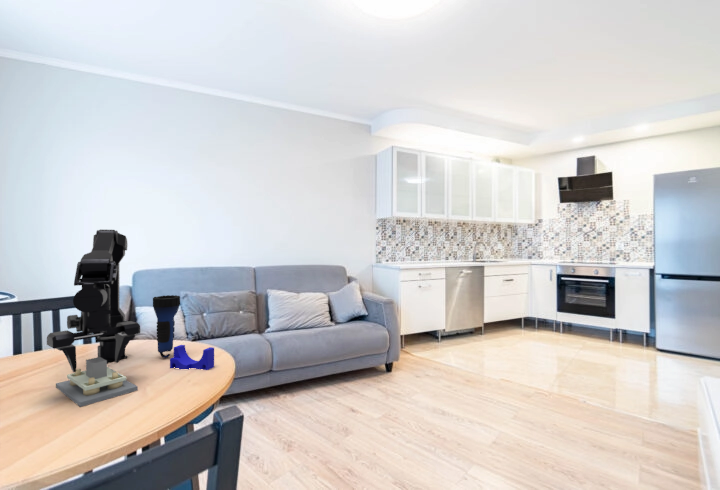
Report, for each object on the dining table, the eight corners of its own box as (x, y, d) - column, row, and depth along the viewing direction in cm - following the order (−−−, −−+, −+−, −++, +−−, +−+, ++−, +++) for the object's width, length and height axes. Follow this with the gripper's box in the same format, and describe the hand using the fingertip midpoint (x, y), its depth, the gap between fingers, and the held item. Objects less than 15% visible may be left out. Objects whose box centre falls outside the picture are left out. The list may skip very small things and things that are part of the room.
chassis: (109, 374, 104) (109, 358, 104) (137, 390, 92) (137, 372, 92) (55, 387, 94) (55, 369, 94) (80, 406, 83) (80, 387, 83)
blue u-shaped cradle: (169, 368, 109) (169, 348, 109) (180, 364, 113) (180, 344, 113) (204, 372, 106) (204, 351, 106) (214, 367, 110) (214, 347, 110)
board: (105, 368, 101) (105, 351, 101) (126, 380, 92) (126, 361, 92) (67, 377, 94) (67, 359, 94) (85, 390, 86) (85, 370, 86)
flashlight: (176, 360, 116) (176, 298, 116) (148, 362, 114) (149, 298, 114) (182, 353, 124) (182, 294, 124) (156, 355, 122) (157, 295, 122)
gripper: (124, 299, 105) (124, 352, 105) (40, 307, 91) (40, 370, 91) (141, 302, 99) (141, 360, 99) (53, 312, 84) (53, 380, 84)
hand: (96, 367), depth 93 cm, fingers open, 9 cm apart
